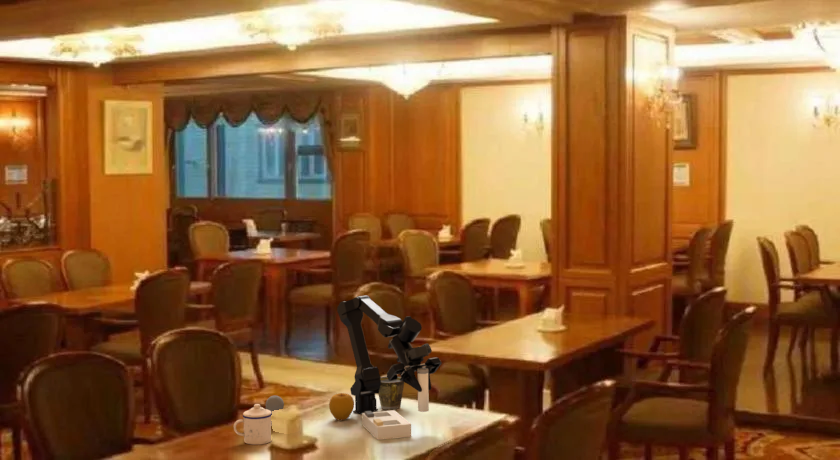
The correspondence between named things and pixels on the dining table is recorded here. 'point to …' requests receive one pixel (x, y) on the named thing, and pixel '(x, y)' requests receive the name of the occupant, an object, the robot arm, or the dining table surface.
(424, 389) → the plug
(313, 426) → the dining table surface
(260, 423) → the teacup with lid
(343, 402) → the apple
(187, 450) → the dining table surface
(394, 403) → the ceramic cup
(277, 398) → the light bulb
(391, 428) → the socket board
